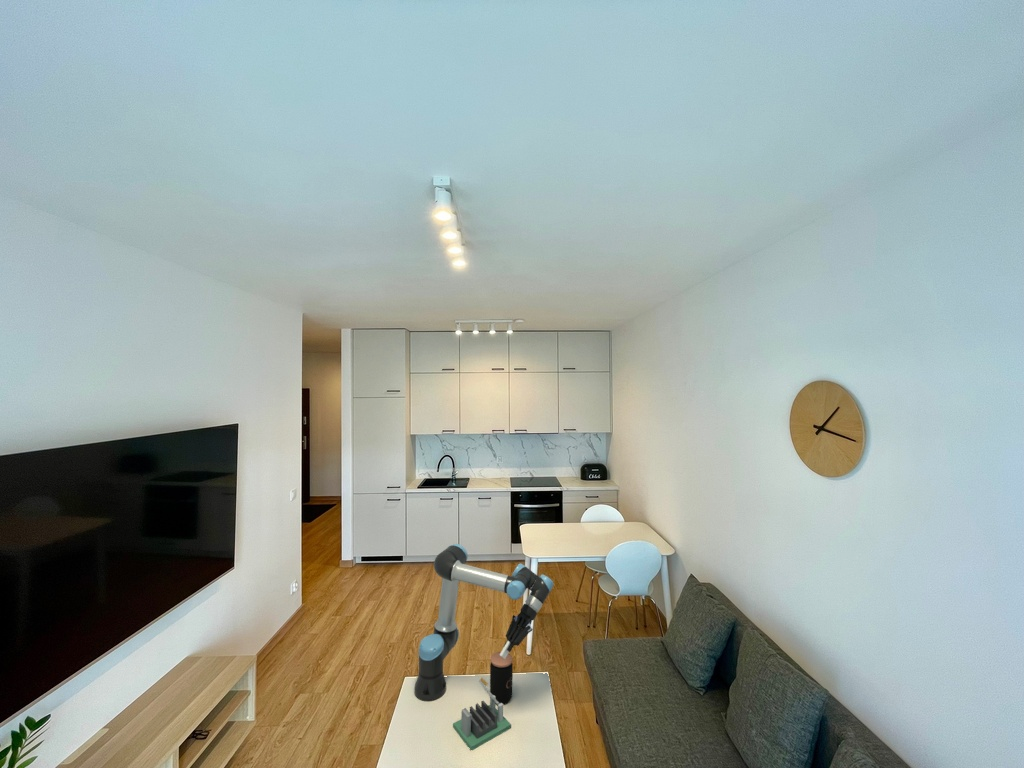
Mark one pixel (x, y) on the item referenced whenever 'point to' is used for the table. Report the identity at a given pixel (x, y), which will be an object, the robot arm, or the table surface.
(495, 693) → the coffee jar
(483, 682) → the silver flat bar
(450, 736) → the table surface
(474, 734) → the cpu board
